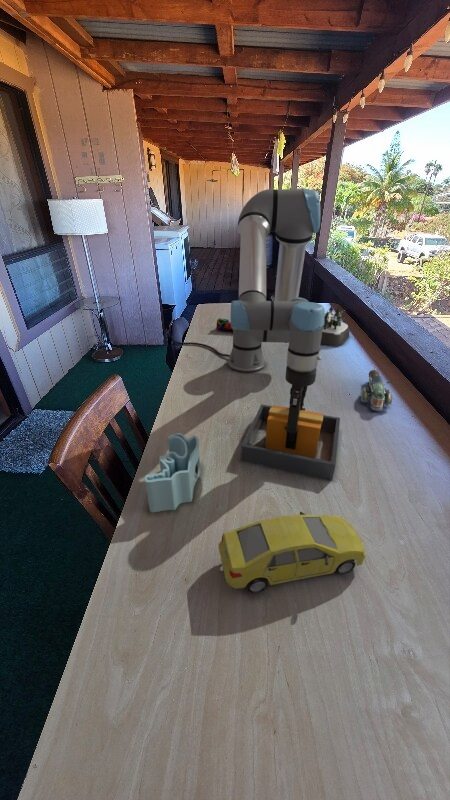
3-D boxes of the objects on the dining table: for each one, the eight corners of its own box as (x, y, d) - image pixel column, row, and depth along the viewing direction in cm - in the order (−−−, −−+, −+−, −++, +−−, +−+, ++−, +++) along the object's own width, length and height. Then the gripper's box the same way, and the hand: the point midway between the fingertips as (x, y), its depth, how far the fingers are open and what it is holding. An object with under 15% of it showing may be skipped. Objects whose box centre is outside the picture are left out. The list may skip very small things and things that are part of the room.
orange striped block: (264, 447, 99) (266, 416, 94) (270, 433, 106) (272, 402, 100) (316, 458, 96) (321, 426, 90) (318, 442, 102) (324, 411, 96)
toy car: (372, 576, 66) (385, 542, 61) (229, 608, 61) (229, 574, 56) (341, 525, 76) (350, 493, 71) (216, 549, 71) (215, 516, 66)
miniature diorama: (351, 335, 176) (358, 301, 168) (339, 348, 162) (346, 311, 153) (313, 327, 186) (318, 295, 177) (299, 339, 171) (303, 304, 162)
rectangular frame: (241, 460, 95) (241, 445, 92) (260, 417, 113) (261, 404, 110) (332, 480, 88) (335, 465, 86) (337, 431, 106) (340, 417, 104)
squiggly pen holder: (190, 515, 79) (188, 484, 74) (148, 511, 80) (142, 481, 75) (202, 462, 94) (201, 434, 90) (166, 459, 95) (163, 432, 90)
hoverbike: (360, 410, 116) (365, 389, 112) (358, 377, 136) (362, 358, 132) (391, 415, 114) (397, 393, 109) (384, 380, 134) (390, 361, 130)
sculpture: (273, 329, 171) (216, 320, 178) (272, 339, 173) (215, 329, 180) (276, 326, 179) (221, 317, 186) (275, 335, 181) (220, 326, 188)
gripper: (312, 387, 78) (300, 464, 90) (320, 353, 95) (310, 422, 107) (278, 382, 80) (272, 458, 92) (293, 349, 97) (285, 417, 109)
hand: (292, 439), depth 99 cm, fingers closed on orange striped block, 7 cm apart
